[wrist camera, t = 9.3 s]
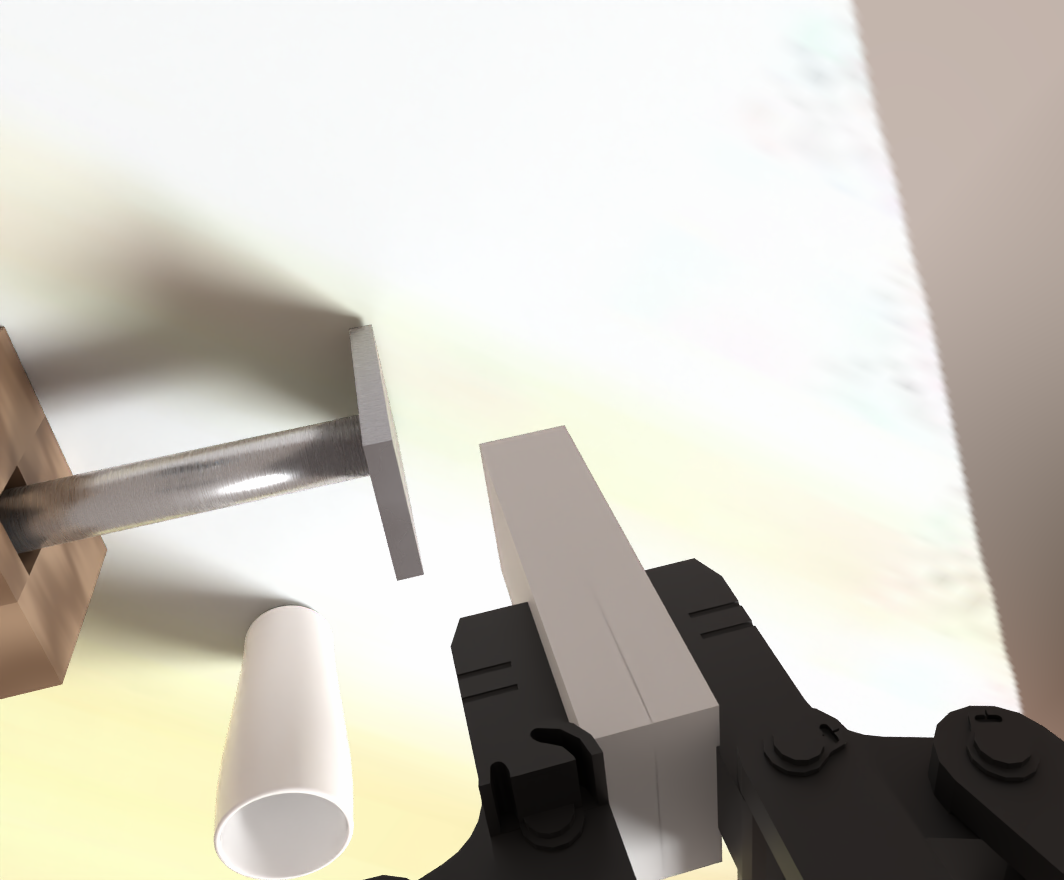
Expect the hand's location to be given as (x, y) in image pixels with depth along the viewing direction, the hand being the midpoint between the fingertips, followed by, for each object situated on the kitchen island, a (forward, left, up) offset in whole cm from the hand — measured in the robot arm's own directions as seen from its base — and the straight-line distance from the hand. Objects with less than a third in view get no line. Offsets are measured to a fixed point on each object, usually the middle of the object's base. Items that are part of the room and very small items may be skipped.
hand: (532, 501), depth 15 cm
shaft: (+12, -15, -32) cm, 37 cm away
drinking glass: (+28, -12, -33) cm, 45 cm away
